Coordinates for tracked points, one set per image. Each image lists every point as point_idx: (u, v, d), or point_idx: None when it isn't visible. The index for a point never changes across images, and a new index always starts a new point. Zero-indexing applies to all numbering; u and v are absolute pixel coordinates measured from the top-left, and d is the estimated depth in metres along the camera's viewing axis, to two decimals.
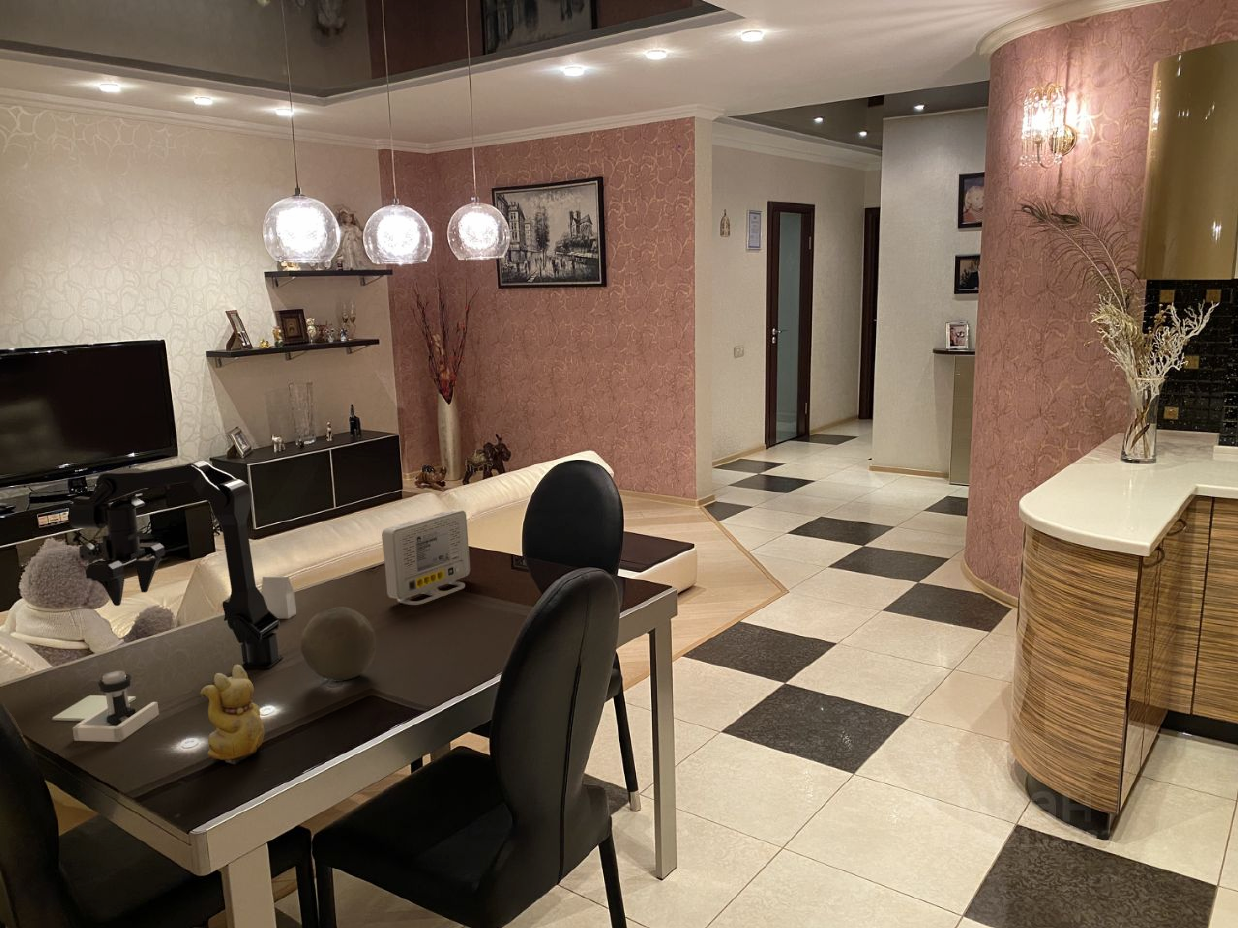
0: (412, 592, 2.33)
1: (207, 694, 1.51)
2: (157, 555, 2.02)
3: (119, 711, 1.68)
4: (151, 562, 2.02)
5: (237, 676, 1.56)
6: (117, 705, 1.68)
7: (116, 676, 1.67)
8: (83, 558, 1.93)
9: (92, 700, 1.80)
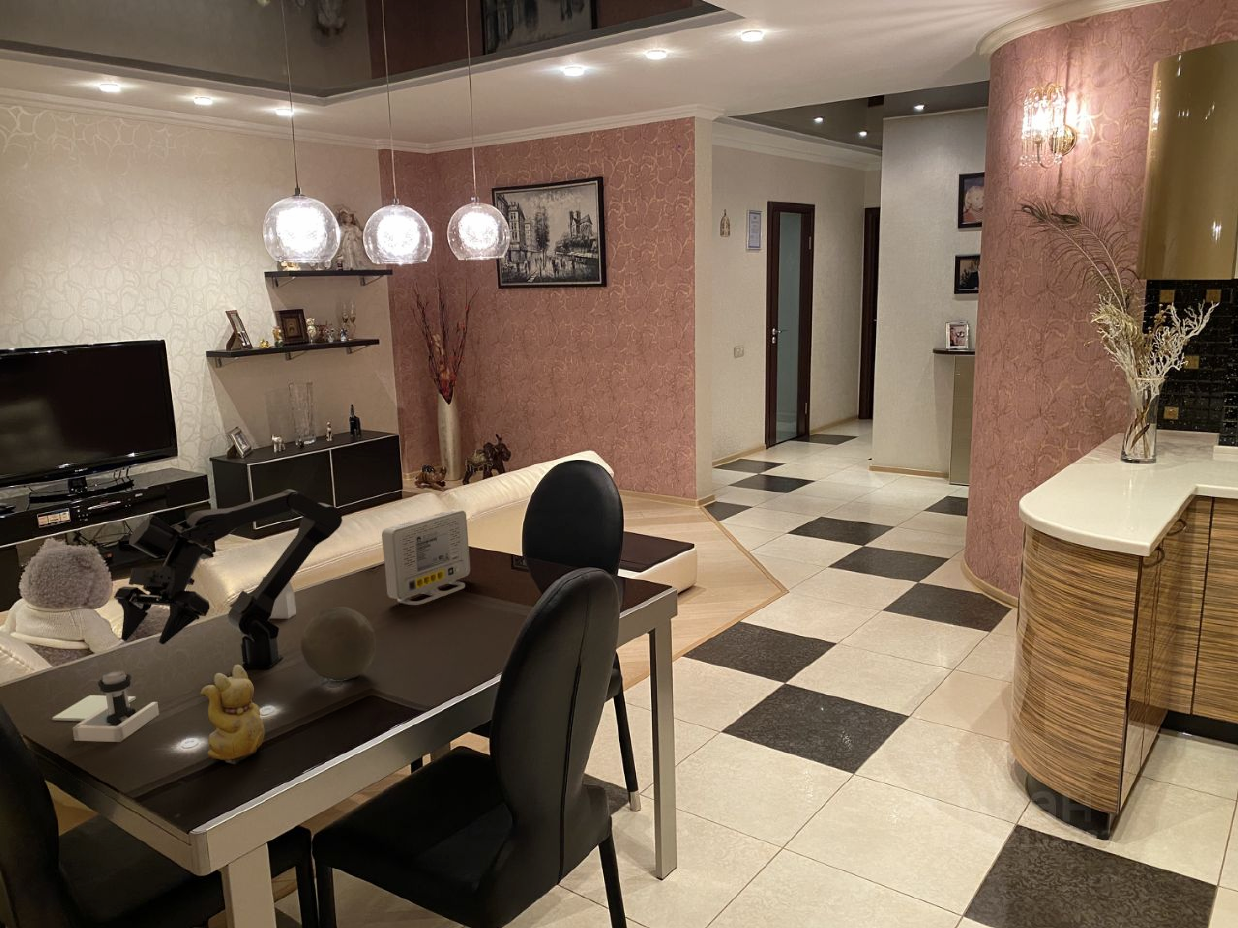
0: (412, 592, 2.33)
1: (207, 694, 1.51)
2: None
3: (119, 711, 1.68)
4: (145, 612, 1.81)
5: (237, 676, 1.56)
6: (117, 705, 1.68)
7: (116, 676, 1.67)
8: (160, 579, 1.73)
9: (92, 700, 1.80)
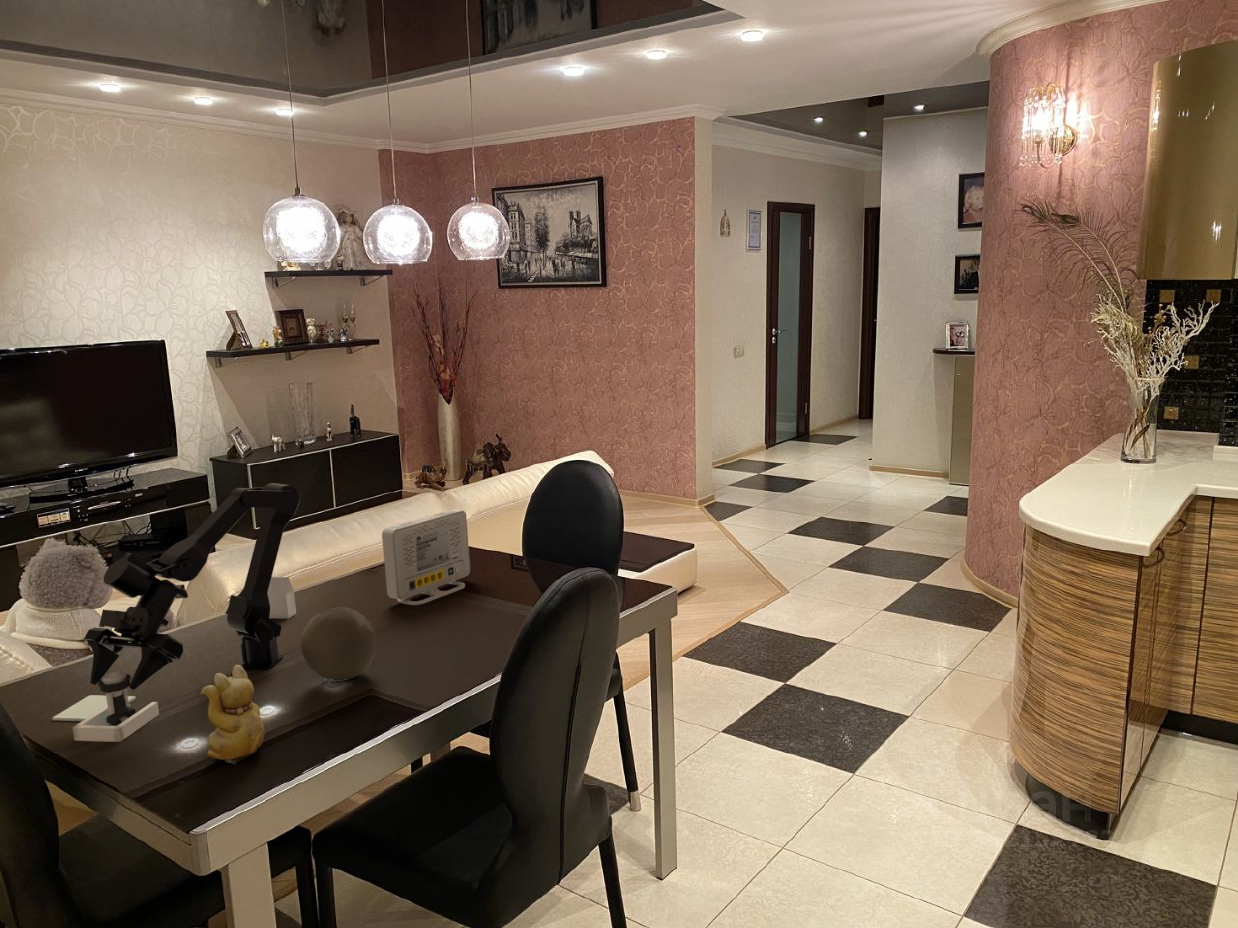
0: (412, 592, 2.33)
1: (207, 694, 1.51)
2: None
3: (119, 711, 1.68)
4: (115, 655, 1.75)
5: (237, 676, 1.56)
6: (117, 705, 1.68)
7: (116, 676, 1.67)
8: (132, 621, 1.67)
9: (92, 700, 1.80)
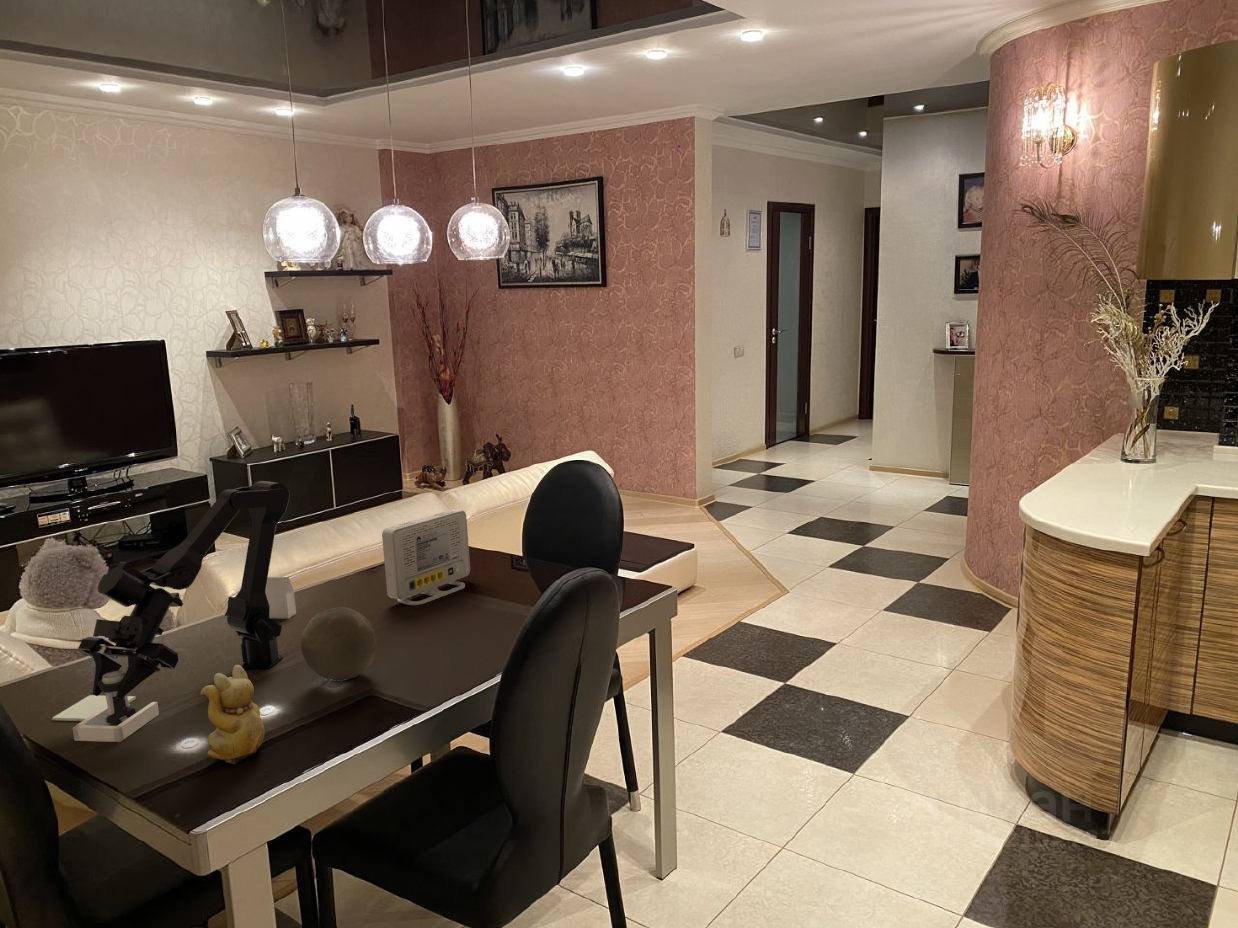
0: (412, 592, 2.33)
1: (207, 694, 1.51)
2: None
3: (119, 710, 1.68)
4: (118, 665, 1.73)
5: (237, 676, 1.56)
6: (117, 705, 1.68)
7: (116, 675, 1.67)
8: (127, 631, 1.66)
9: (92, 700, 1.80)
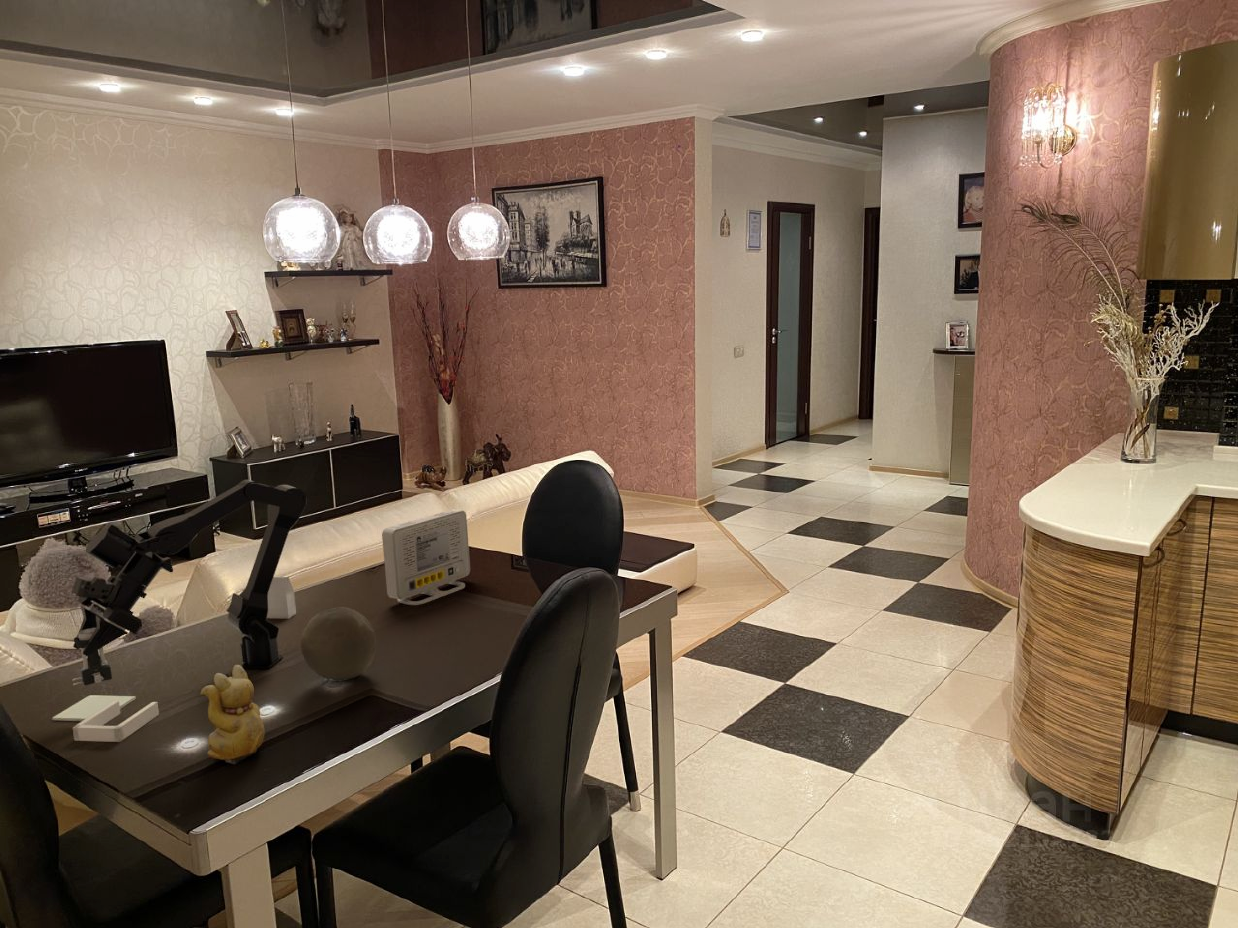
0: (412, 592, 2.33)
1: (207, 694, 1.51)
2: None
3: (91, 667, 1.73)
4: None
5: (237, 676, 1.56)
6: (90, 661, 1.73)
7: (88, 633, 1.72)
8: (91, 591, 1.69)
9: (92, 700, 1.80)
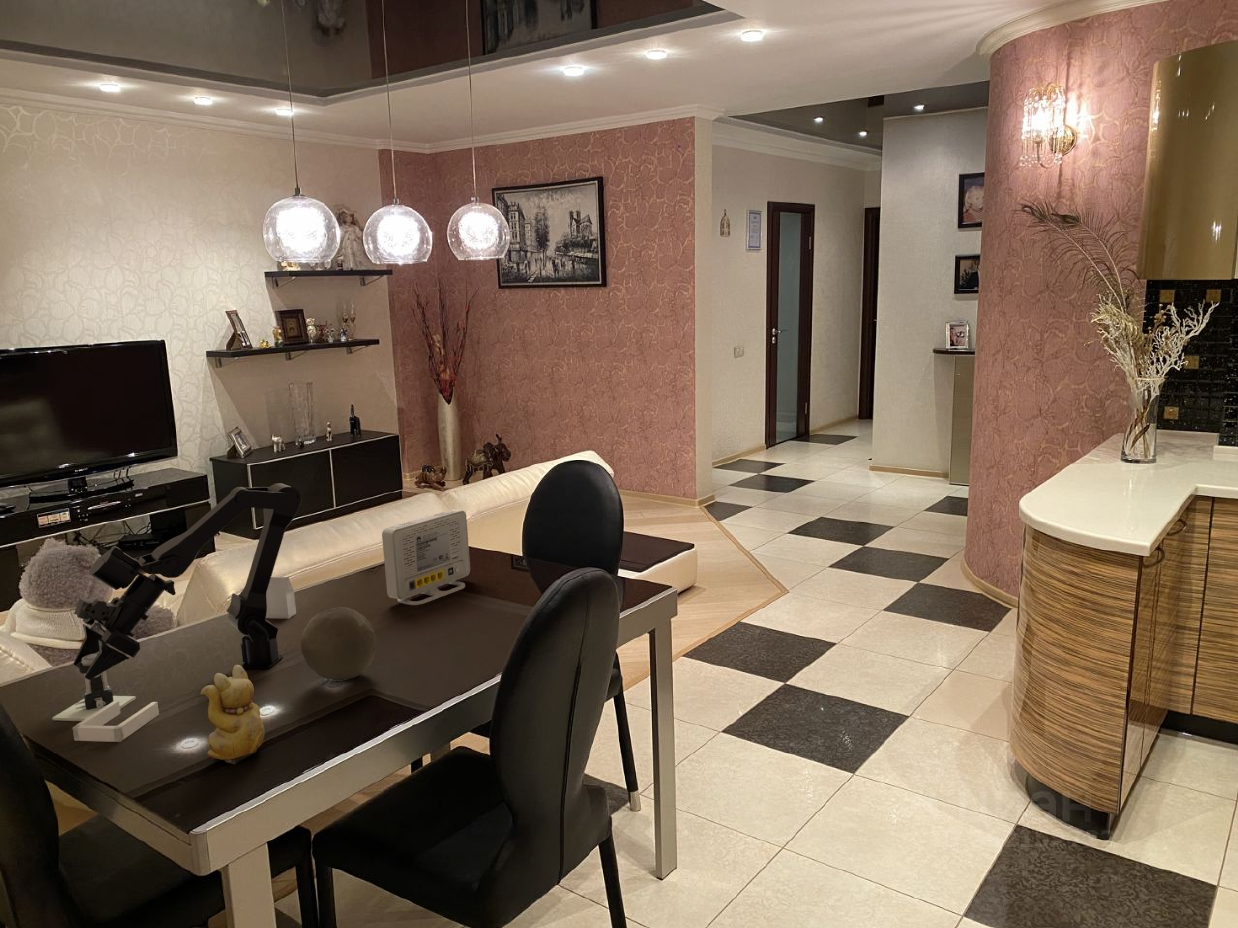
0: (412, 592, 2.33)
1: (207, 694, 1.51)
2: None
3: (93, 692, 1.76)
4: None
5: (237, 676, 1.56)
6: (92, 686, 1.76)
7: (91, 658, 1.75)
8: (92, 614, 1.71)
9: None
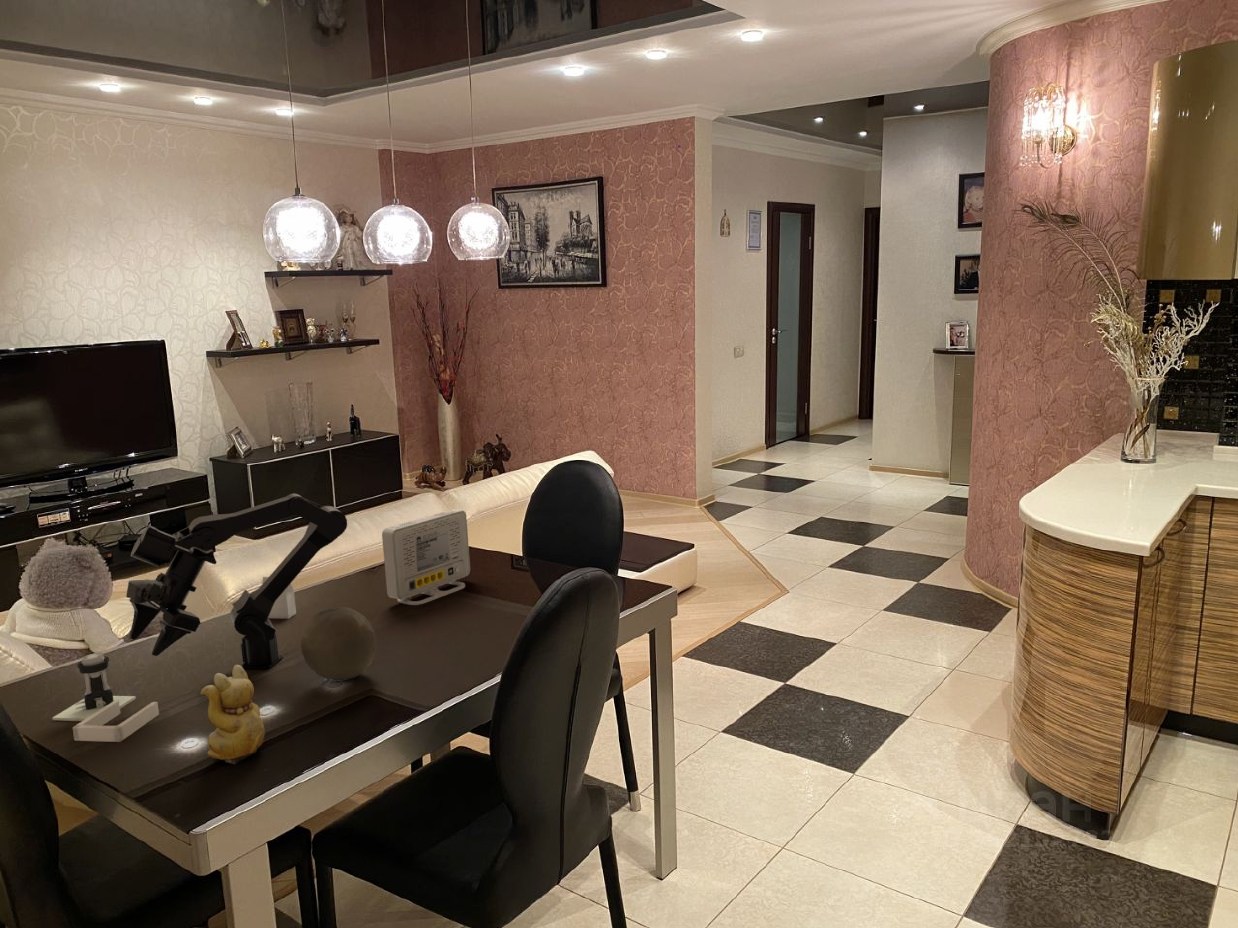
0: (412, 592, 2.33)
1: (207, 694, 1.51)
2: None
3: (93, 692, 1.76)
4: (156, 610, 1.90)
5: (237, 676, 1.56)
6: (92, 686, 1.76)
7: (91, 658, 1.75)
8: (148, 598, 1.78)
9: None
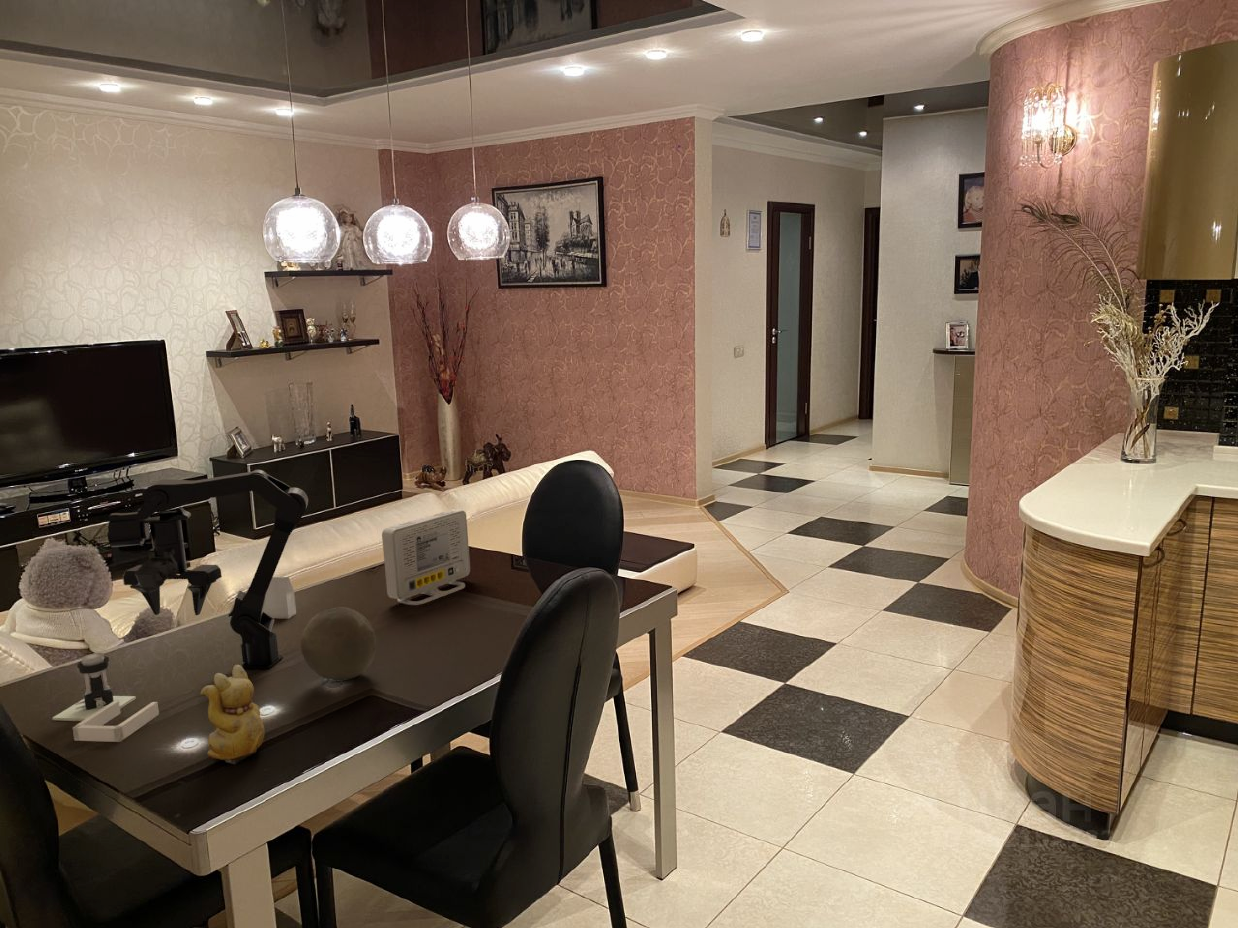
0: (412, 592, 2.33)
1: (207, 694, 1.51)
2: None
3: (93, 692, 1.76)
4: None
5: (237, 676, 1.56)
6: (92, 686, 1.76)
7: (91, 658, 1.75)
8: (170, 577, 1.82)
9: None
